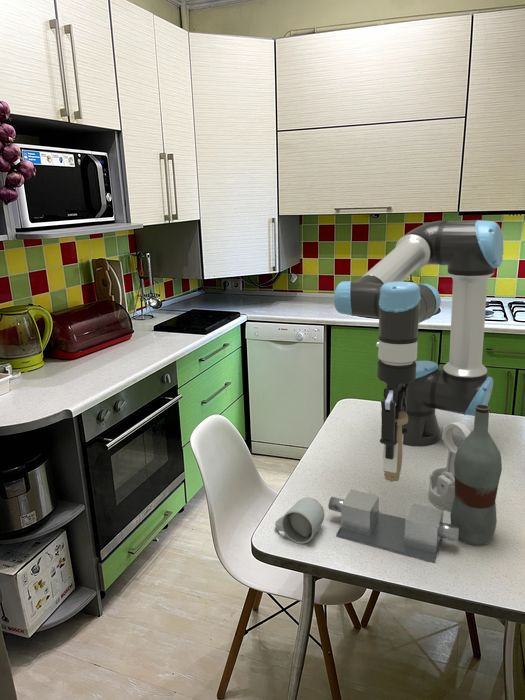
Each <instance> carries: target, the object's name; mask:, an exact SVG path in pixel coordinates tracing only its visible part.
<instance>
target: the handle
mask: <svg viewBox="0 0 525 700" xmlns="http://www.w3.org/2000/svg"><path fill="white" fill-rule="evenodd" d="M380 417H381V419H382V409H381V410H380ZM396 421H397V426H398V431H397V443H398V456H397V472H396V473H393V472H388V471H383V472H384V480H386V481H389V482H391V483H393V482H398V481H399V480H400V474H401V473H402V472H401V471H402V464H403V453H402V425H405V424H407V423H408V414H407V413H406V412H404V411H403V412H402V411H400V412H399V418H398V419H397V420H396V419H395V422H396ZM383 456H384V450H383V455H382V457H383Z"/></svg>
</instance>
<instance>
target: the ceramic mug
mask: <svg viewBox="0 0 525 700" xmlns="http://www.w3.org/2000/svg"><path fill="white" fill-rule="evenodd" d="M324 520H325V510H324V508H323V505H322V504H321V503H320V502H319V501H318V500H316V499H315V498H313V497H303V498H301V499H299V500H298V501H296V502H295V503H294V505H292V507H290V508H289V509H288V510H287V511H286V512H285V513H284V515H283V516H280V517H279V518H278V519H277V520H275V522H274V526H275V527H276V530H277V531H278V532H283V534H285V536H286V537H287V538H288V539H289V540H291V541H292V542H294V543H296V544H301V545H302V544H307V543H309V542H310V541H312V539H313V538H314V536H315V534H316V533H317V532H318V530H319V529H320V528H321V526H322V524H323V523H324Z"/></svg>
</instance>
